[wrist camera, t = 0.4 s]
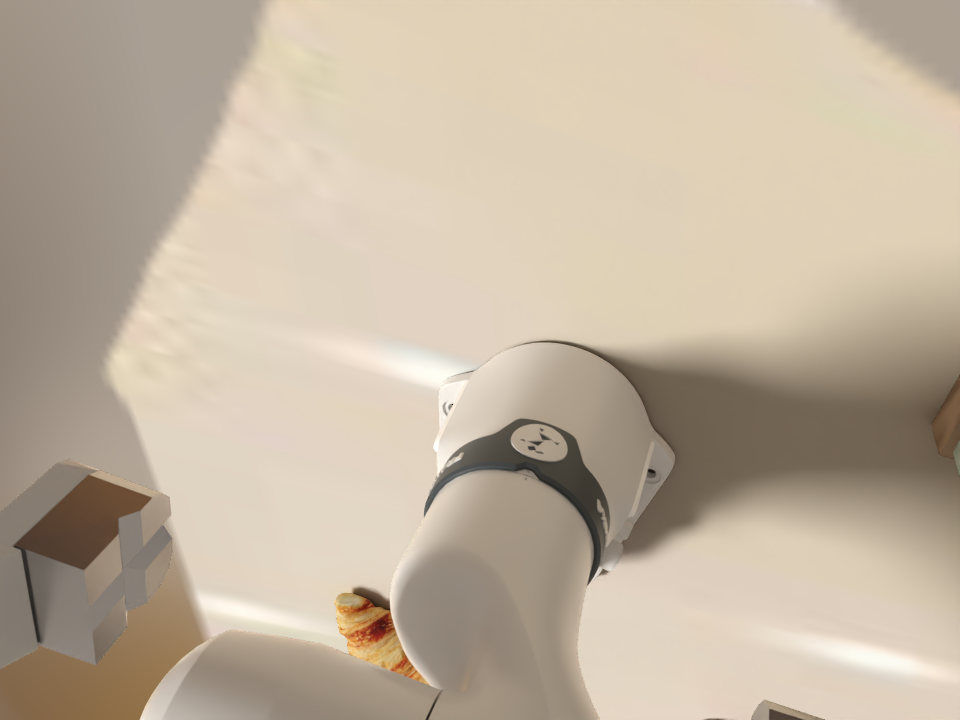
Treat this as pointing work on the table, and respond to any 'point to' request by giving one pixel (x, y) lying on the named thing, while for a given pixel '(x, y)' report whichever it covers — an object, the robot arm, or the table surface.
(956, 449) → the tower top
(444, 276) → the table surface
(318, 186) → the table surface
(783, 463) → the table surface
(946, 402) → the tower base
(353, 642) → the croissant
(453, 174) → the table surface
